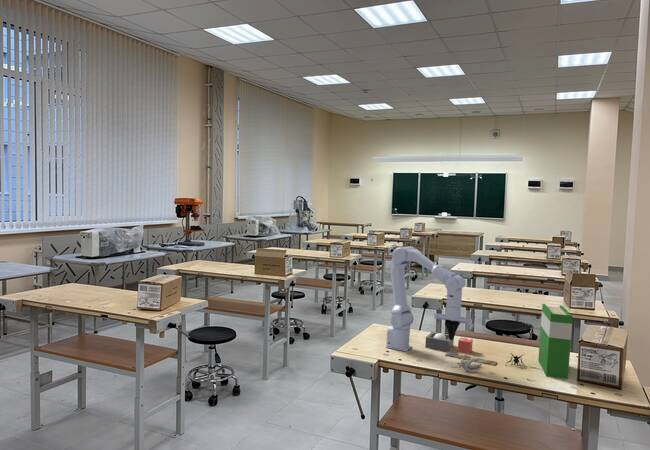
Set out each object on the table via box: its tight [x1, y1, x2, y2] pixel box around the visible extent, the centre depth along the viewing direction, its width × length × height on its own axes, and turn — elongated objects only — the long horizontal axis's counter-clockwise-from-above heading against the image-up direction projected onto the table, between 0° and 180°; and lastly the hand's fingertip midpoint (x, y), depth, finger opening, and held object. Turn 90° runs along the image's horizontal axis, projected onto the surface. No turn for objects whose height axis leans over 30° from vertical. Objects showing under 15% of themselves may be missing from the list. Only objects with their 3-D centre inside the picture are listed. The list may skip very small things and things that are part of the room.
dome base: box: [424, 331, 455, 353], centre depth 203 cm, size 10×10×4 cm
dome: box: [434, 332, 447, 340], centre depth 203 cm, size 7×7×6 cm
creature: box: [505, 353, 528, 370], centre depth 182 cm, size 8×5×8 cm
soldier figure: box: [456, 353, 483, 373], centre depth 177 cm, size 8×5×12 cm
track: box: [445, 351, 498, 366], centre depth 188 cm, size 20×4×1 cm, turn 62°
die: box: [457, 337, 474, 355], centre depth 198 cm, size 5×5×5 cm
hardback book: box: [537, 303, 574, 380], centre depth 179 cm, size 18×7×24 cm, turn 164°
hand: (451, 339), depth 183 cm, fingers closed
